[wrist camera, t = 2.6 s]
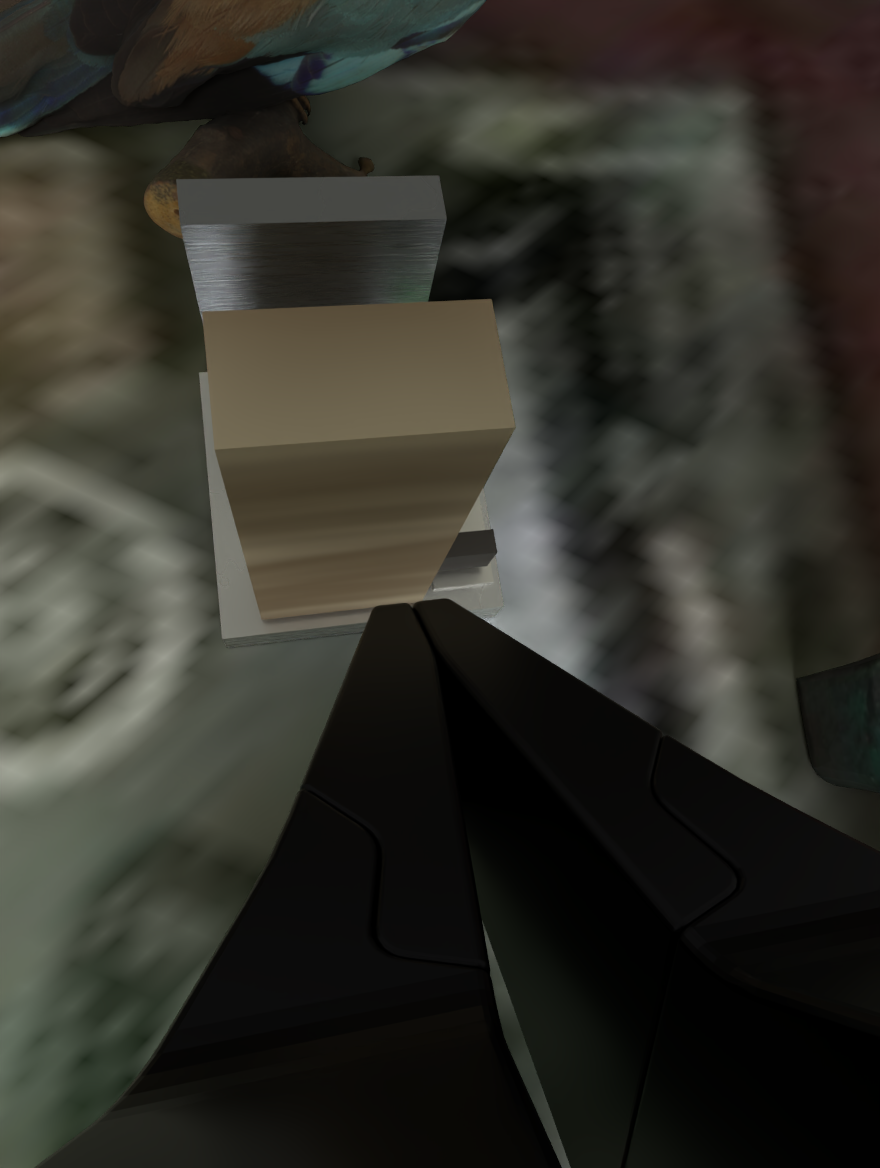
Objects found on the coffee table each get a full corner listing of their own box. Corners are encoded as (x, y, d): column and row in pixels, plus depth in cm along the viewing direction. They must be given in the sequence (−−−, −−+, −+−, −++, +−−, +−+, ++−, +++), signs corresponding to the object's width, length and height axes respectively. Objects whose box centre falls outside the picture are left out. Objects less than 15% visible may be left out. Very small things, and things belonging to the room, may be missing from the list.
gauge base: (494, 616, 22) (592, 515, 15) (227, 648, 21) (176, 555, 13) (453, 378, 24) (522, 174, 16) (204, 394, 23) (148, 179, 15)
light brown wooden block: (489, 594, 21) (638, 418, 11) (261, 619, 20) (214, 449, 10) (474, 503, 22) (603, 263, 12) (252, 523, 20) (199, 279, 11)
